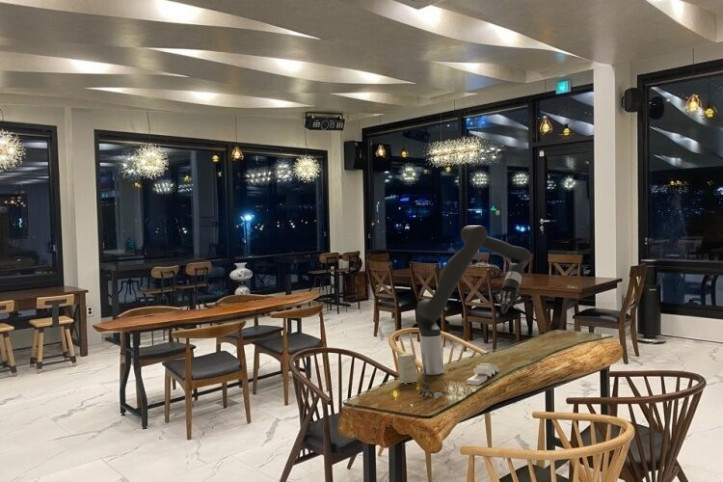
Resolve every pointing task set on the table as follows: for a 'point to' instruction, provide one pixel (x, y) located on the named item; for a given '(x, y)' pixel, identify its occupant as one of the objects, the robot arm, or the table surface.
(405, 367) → the skincare box
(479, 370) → the ivory domino
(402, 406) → the table surface
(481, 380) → the ivory domino
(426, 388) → the eiffel tower figurine
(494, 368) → the sage domino
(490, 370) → the ivory domino
